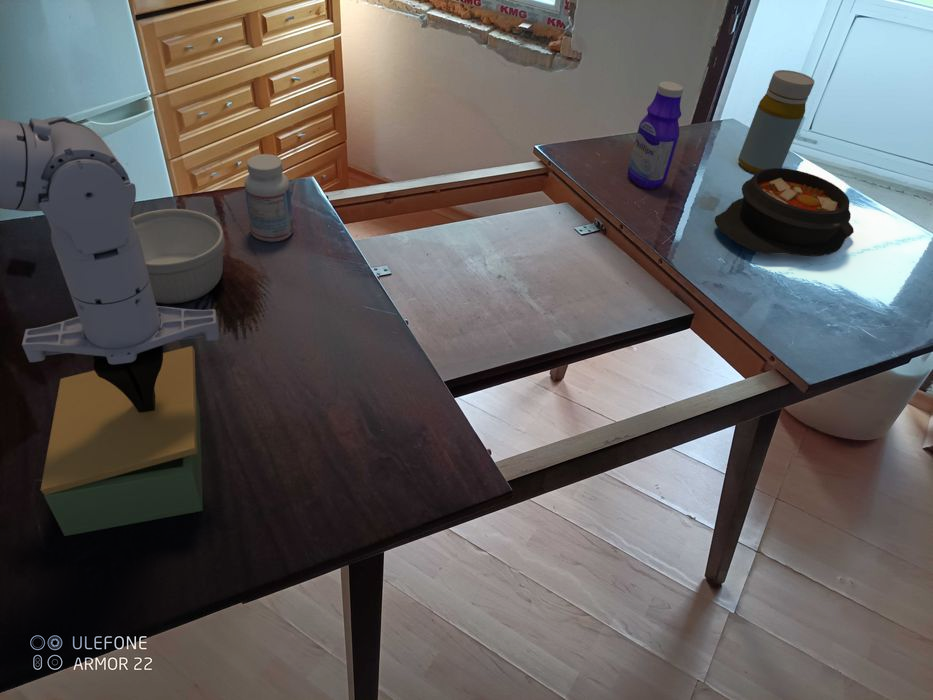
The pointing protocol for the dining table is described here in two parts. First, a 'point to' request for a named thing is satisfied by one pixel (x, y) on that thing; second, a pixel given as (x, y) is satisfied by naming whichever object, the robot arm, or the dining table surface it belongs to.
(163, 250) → the ramekin
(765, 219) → the casserole
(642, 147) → the bottle
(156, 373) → the robot arm
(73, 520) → the green open cubby
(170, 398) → the yellow box lid
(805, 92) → the bottle
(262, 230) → the pill bottle
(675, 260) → the dining table surface
